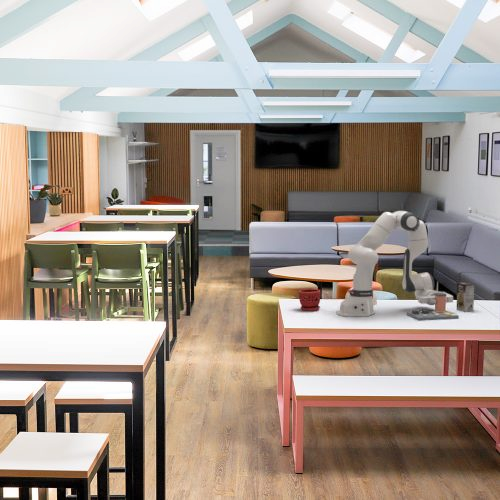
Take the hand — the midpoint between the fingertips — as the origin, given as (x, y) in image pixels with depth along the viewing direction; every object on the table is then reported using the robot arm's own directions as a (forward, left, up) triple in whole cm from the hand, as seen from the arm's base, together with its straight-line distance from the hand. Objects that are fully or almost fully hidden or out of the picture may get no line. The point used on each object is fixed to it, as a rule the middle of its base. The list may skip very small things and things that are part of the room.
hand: (441, 301), depth 444 cm
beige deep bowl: (-31, +49, -9) cm, 59 cm away
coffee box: (+21, +12, -8) cm, 26 cm away
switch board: (-6, -2, -8) cm, 10 cm away
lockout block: (0, +1, -6) cm, 6 cm away
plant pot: (-68, +35, -8) cm, 77 cm away
